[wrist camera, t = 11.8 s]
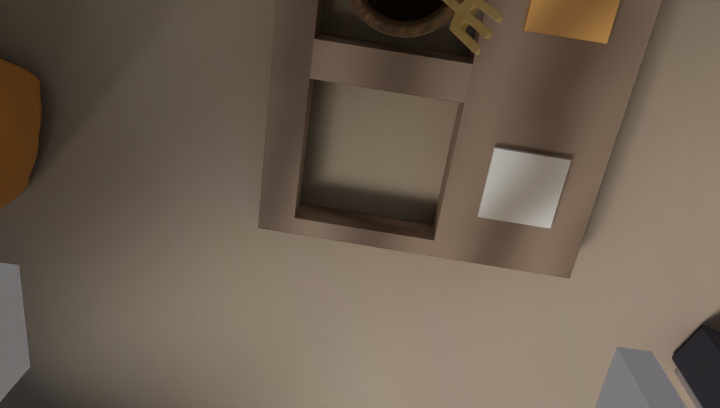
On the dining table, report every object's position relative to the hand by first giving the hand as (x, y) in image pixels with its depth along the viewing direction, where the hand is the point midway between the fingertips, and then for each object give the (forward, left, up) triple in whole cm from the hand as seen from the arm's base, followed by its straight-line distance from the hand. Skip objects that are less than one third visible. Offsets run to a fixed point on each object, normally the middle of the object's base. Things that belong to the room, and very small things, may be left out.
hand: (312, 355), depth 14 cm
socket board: (+4, +2, -22) cm, 22 cm away
